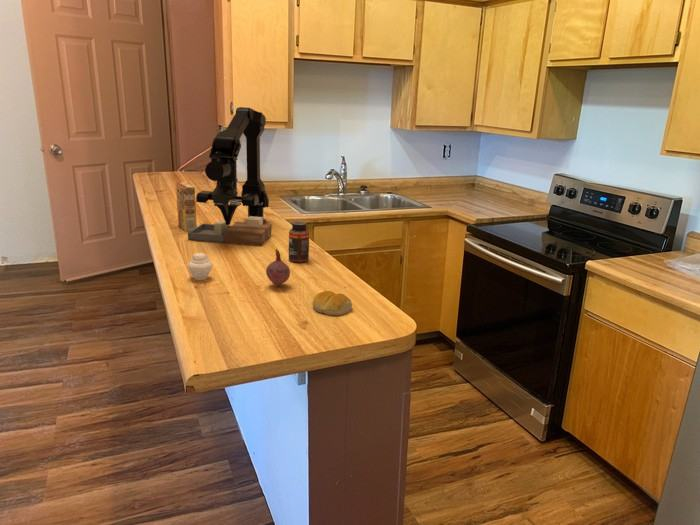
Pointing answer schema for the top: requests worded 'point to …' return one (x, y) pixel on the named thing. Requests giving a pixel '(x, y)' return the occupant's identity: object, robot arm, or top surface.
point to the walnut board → (247, 234)
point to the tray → (205, 234)
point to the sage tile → (220, 228)
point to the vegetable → (278, 271)
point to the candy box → (186, 206)
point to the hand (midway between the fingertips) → (228, 224)
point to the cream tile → (254, 221)
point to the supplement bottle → (298, 242)
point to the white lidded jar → (199, 266)
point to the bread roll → (332, 303)
